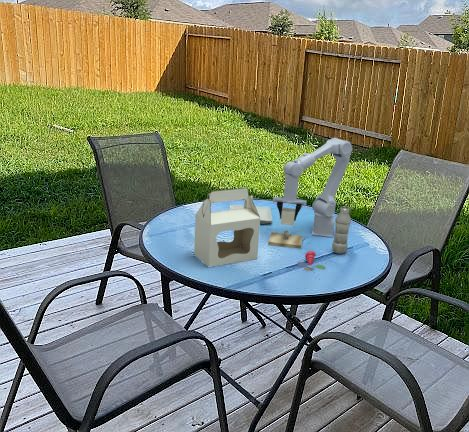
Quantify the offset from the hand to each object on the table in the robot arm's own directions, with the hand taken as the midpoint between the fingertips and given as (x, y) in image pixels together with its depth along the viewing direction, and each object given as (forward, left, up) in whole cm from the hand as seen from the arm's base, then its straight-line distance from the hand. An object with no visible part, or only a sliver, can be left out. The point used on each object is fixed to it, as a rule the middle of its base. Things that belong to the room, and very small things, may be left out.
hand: (287, 219), depth 213 cm
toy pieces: (-12, +26, -10) cm, 30 cm away
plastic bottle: (-23, +10, -9) cm, 27 cm away
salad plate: (+20, -22, -10) cm, 31 cm away
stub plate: (0, +5, -9) cm, 10 cm away
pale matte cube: (0, 0, -2) cm, 2 cm away
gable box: (+22, +29, -9) cm, 37 cm away
